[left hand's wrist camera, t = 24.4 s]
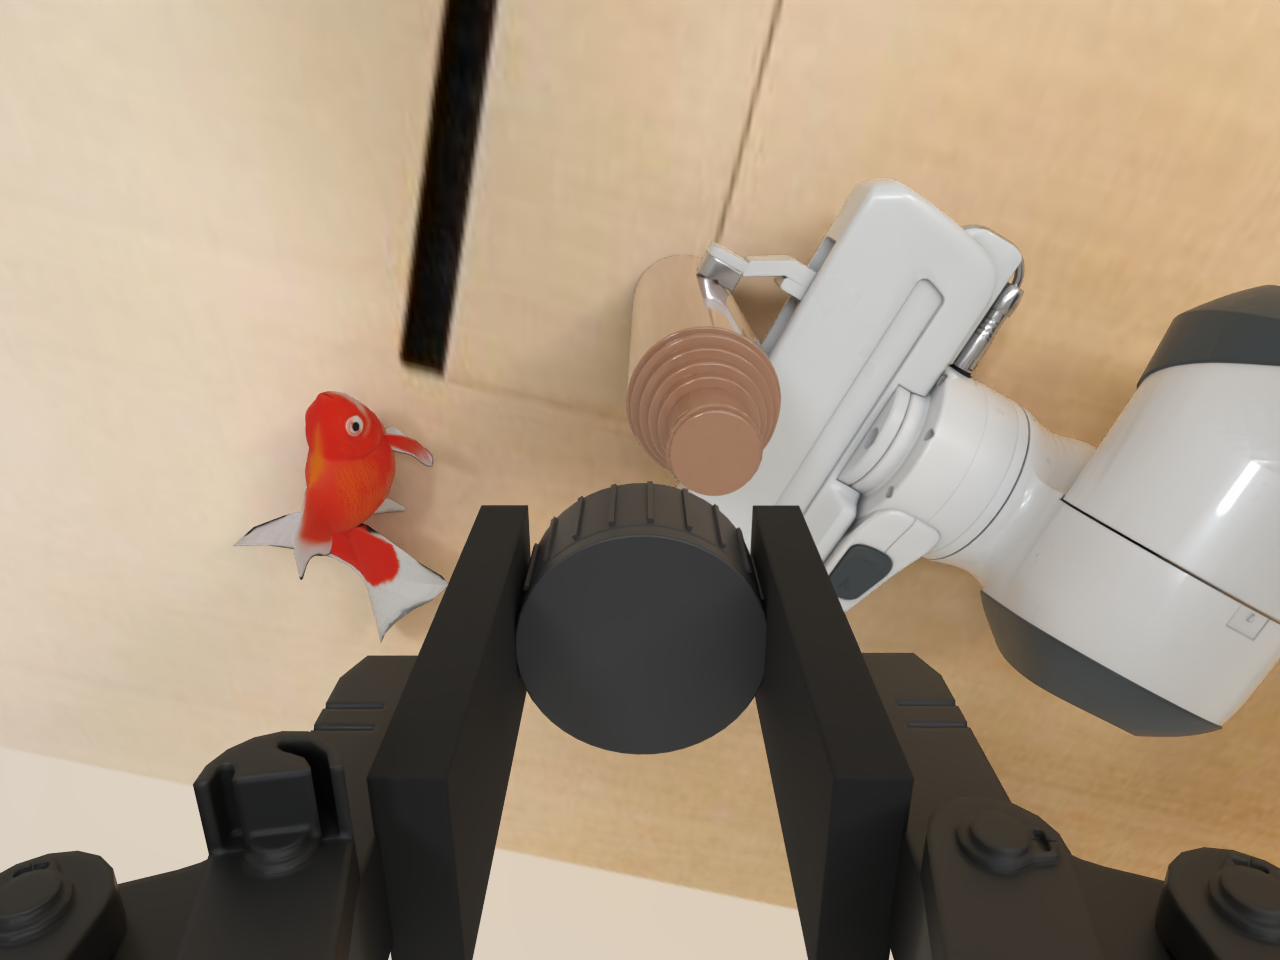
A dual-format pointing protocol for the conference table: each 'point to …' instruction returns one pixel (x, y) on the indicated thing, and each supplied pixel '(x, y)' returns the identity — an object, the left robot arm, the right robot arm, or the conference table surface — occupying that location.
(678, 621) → the cap
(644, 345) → the bottle
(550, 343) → the conference table surface
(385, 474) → the fish
